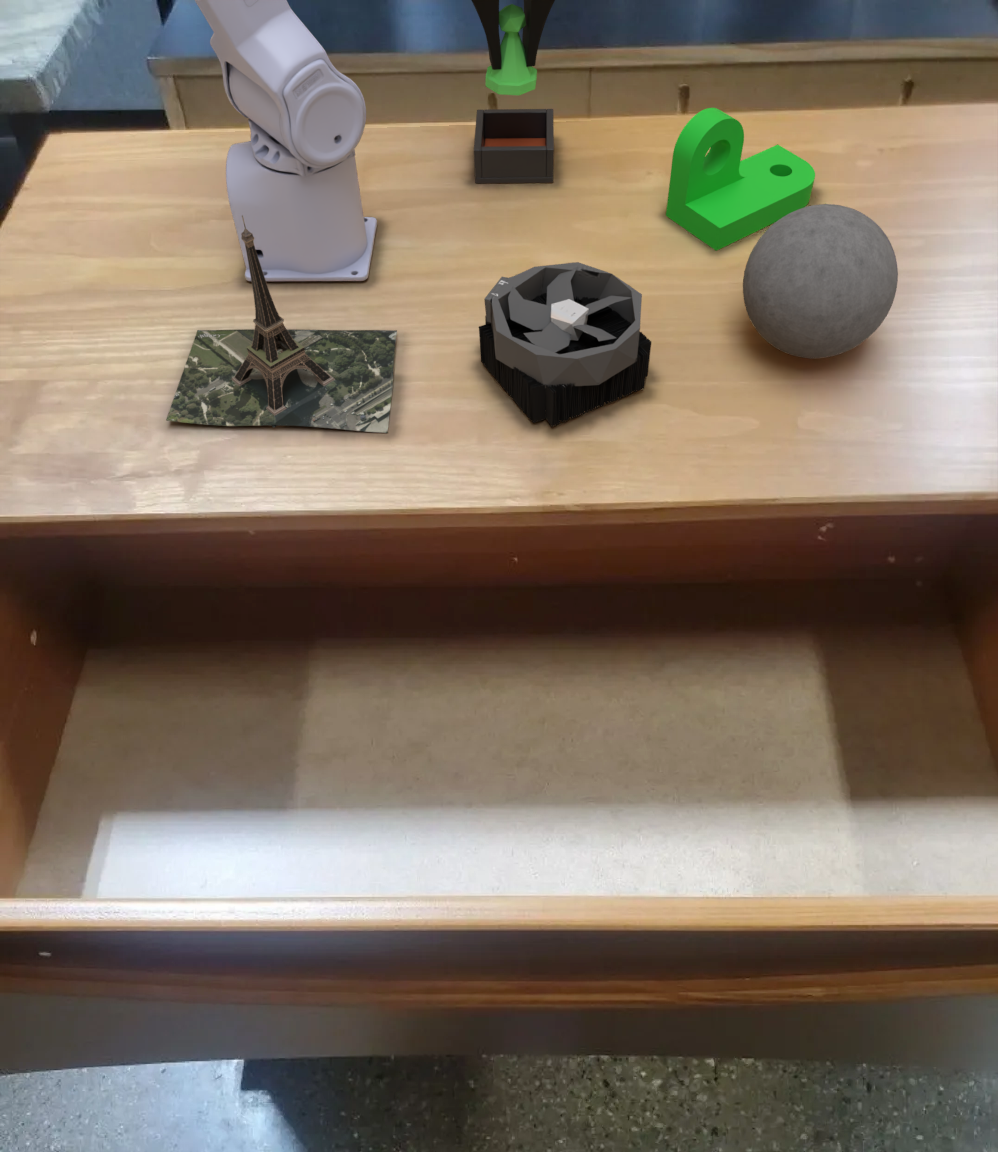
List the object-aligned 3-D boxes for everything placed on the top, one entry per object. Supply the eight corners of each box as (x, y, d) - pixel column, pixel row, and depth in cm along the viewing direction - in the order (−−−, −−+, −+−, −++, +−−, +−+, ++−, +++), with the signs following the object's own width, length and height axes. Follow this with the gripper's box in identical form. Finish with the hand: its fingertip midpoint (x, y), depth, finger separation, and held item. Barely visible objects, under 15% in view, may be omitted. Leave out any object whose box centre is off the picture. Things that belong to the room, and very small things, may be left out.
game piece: (545, 92, 81) (548, 12, 76) (493, 99, 80) (493, 19, 76) (528, 66, 84) (530, -12, 79) (478, 73, 83) (477, -5, 78)
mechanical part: (716, 250, 80) (732, 155, 74) (665, 215, 83) (676, 120, 77) (825, 198, 84) (849, 103, 78) (773, 166, 87) (792, 72, 81)
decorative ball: (757, 397, 70) (787, 273, 62) (714, 307, 76) (736, 183, 68) (897, 378, 70) (944, 253, 62) (844, 290, 76) (880, 166, 69)
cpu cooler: (675, 322, 66) (539, 376, 63) (665, 389, 70) (539, 443, 67) (588, 241, 71) (460, 288, 68) (585, 308, 76) (465, 354, 73)
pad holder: (475, 183, 87) (473, 150, 84) (478, 142, 91) (476, 109, 88) (553, 183, 86) (553, 149, 84) (552, 141, 90) (553, 108, 88)
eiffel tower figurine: (401, 335, 75) (380, 164, 64) (387, 433, 68) (361, 262, 58) (198, 334, 75) (144, 165, 65) (166, 431, 69) (100, 262, 58)
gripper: (408, -108, 67) (425, 95, 78) (624, -125, 68) (612, 78, 79) (400, -145, 72) (417, 52, 82) (603, -161, 72) (594, 36, 83)
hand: (511, 62), depth 81 cm, fingers closed on game piece, 2 cm apart
